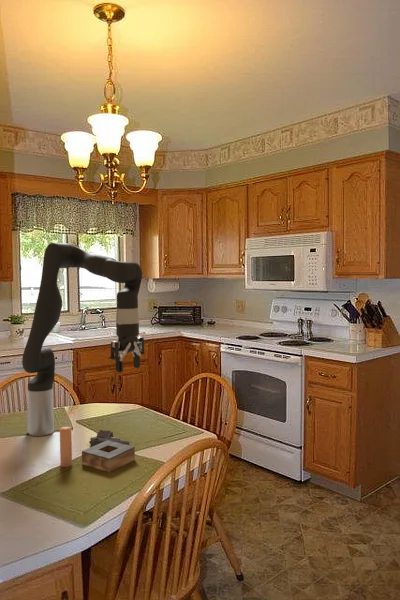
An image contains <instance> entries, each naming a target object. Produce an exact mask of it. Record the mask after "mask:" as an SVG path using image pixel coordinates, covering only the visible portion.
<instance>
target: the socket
mask: <svg viewBox="0 0 400 600" xmlns="http://www.w3.org/2000/svg"><path fill="white" fill-rule="evenodd" d="M135 451H136V447H135V446H133V445H125V444H121V443H117V442H113V441H109V440H107V441H105V442H102V443H100V444H98V445H95V446H94V445H92V446H91V447H89V448H86V449H83V450H81V465H83V466H86V467H90V468H93V469H97V470H101V471H104V472H107V473H111V472H113V471H115V470H117V469H119V468H121V467H124V466H125V465H128V464H130V463H131V462H133V461H135V460H136V454H135V453H136V452H135Z"/></svg>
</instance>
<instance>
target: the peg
mask: <svg viewBox="0 0 400 600" xmlns="http://www.w3.org/2000/svg"><path fill="white" fill-rule="evenodd" d="M72 443H73V441H72V427H71V426H62V427H60V428H59V456H60V462H59V463H60V467H61V468H69V467H71V466H73V446H72Z"/></svg>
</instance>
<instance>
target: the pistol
mask: <svg viewBox="0 0 400 600" xmlns="http://www.w3.org/2000/svg"><path fill="white" fill-rule="evenodd" d="M111 436H112V437H111ZM107 440H109V441H113V442H117V443H121V444H125V445H130V441H129V440H128V441H127V440H123V439H122V440H121V439H120V438H118V437H114V433H113V431H111V430H107V429H106V430H102V429H100V430H99V431H98V432H97V434H96V436H93V437H92V436H91V437H90V438H89V441H88V443H89V444H90V446H95V445H98V444H100V443H102V442H105V441H107ZM130 446H131V445H130Z"/></svg>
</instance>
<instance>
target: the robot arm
mask: <svg viewBox="0 0 400 600" xmlns="http://www.w3.org/2000/svg"><path fill="white" fill-rule="evenodd" d="M70 268H78V269H79V268H80V269H84V270H86V271H88V272H89V273H91V274H92V275H95V276H99V277H102V278H106V279H108V280H110V281H111V282H114V283H119V284H124V286H123V289H121V290H119V291H118V292H117V293H116V314H115V325H116V327H115V328H116V330H115V331H116V332H115V334H116V337H117V338H118V339H117V340H116V341H115V340H114V341H113V340H112V341H111V342H110V360H112V361H115V370H116V373H123V372H124V366H123V364H124V363H123V359H124V357H125V356H126V355H127V354H128V353H131V354H132V355H133V361H132V362H133V368H134V369H138V368H139V369H140V367H141V357H142V355H145V337H143V336H139V335H140V312H139V292H140V289H141V285H142V279H143V272H142V268H141V266H140V264H138V263H137V262H135V261H119V260H116V259H115V258H112V257H110V256H105V255H102V254H99V253H98V254H97V253H92V252H89V251H86V250H84V249H82V248H80V247H78V246H76V245H73V244H72V243H68V242H51V243H48V245H47V246H46V248H45V251H44V254H43V260H42V270H41V271H42V272H41V279H40V285H39V290H38V295H37V299H36V303H35V307H34V314H33V317H32V318H33V319H32V322H31V327H30V332H29V335H28V338H27V341H26V343H25V348H24V350H23V353H22V359H21V363H22V369H23V370H24V372H26V373H28V374H36V375H35V376H34V377H33V378H32V379H31V380H30V381H28V382H27V403H28V405H27V408H26V421H27V422H26V423H27V424H26V425H27V426H26V428H27V430H26V432H27V433H28V435H30V436H32V437H43V436H48V435H51V434H53V433H54V432H55V428H54V426H55V425H54V423H55V422H54V421H55V420H54V386H53V385H54V382H55V375H56V374H55V373H56V372H55V370H56V357H55V353H54V350H53V349H51V347H50V346H49V347H48V346H43V345H44V342H45V341H46V338H47V337H48V335H49V334H50V333H51V332H52V331H53V329H54V328H55V326H57V323H58V322H59V319H60V316H61V312H62V308H63V298H62V296H61V292H60V290H59V287H58V286H59V285H58V276H59V272H60V269H70Z"/></svg>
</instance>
